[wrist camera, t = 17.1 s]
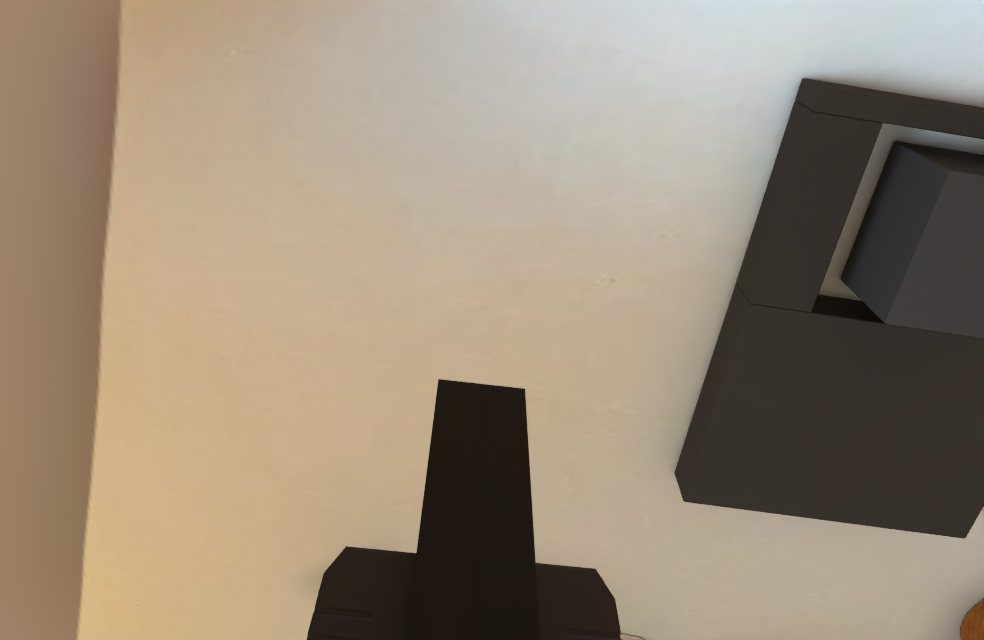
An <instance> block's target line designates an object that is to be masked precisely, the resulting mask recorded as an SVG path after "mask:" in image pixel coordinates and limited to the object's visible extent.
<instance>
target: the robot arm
mask: <svg viewBox="0 0 984 640" xmlns="http://www.w3.org/2000/svg"><path fill="white" fill-rule="evenodd" d="M620 634H621V631H620V625H619V620H618V614H617V608H616V602H615V598H614V597H613V595H612V594H611V592H610V591H609V589H608V588H607V586H606V584H605V583H604V581H603V580H602V578H601V577H600V575H599V574H598V572H597V571H596V569H591V568H581V567H571V566H561V565H550V564H540V563H535V548H534V532H533V515H532V499H531V482H530V466H529V449H528V433H527V416H526V400H525V389H521V388H512V387H503V386H494V385H485V384H476V383H467V382H458V381H449V380H440V379H439V381H438V388H437V396H436V404H435V412H434V420H433V428H432V436H431V444H430V452H429V460H428V468H427V475H426V483H425V491H424V499H423V507H422V515H421V523H420V531H419V539H418V547H417V553H407V552H397V551H387V550H377V549H366V548H356V547H345V549H344V550H343V551H342V552H341V553H340V555H339V556H338V557H337V558H336V559H335V560H334V562H333V563H332V564H331V565H330V566H329V568H328V569H327V570H326V571H325V572H324V575H323V578H322V582H321V586H320V590H319V593H318V597H317V601H316V605H315V611H314V612H313V616H312V620H311V624H310V627H309V631H308V637H307V640H622V639H621V638H620Z"/></svg>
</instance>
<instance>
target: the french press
mask: <svg viewBox="0 0 984 640" xmlns="http://www.w3.org/2000/svg"><path fill="white" fill-rule="evenodd" d="M620 638H621V639H622V640H643V639H641V638H640V637H635V636H630V635H625V634H620Z"/></svg>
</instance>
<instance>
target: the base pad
mask: <svg viewBox="0 0 984 640" xmlns="http://www.w3.org/2000/svg"><path fill="white" fill-rule="evenodd" d="M882 123H887V124H893V125H900V126H906V127H912V128H918V129H924V130H930V131H937V132H943V133H949V134H955V135H961V136H967V137H974V138H980V139H984V108H981V107H975V106H969V105H963V104H957V103H951V102H945V101H939V100H933V99H927V98H921V97H914V96H908V95H902V94H896V93H890V92H884V91H878V90H872V89H866V88H860V87H854V86H848V85H842V84H835V83H829V82H823V81H817V80H811V79H805V78H803V79H802V81H801V84H800V87H799V90H798V93H797V96H796V101H795V103H794V106H793V109H792V112H791V115H790V118H789V121H788V124H787V127H786V130H785V133H784V137H783V140H782V143H781V146H780V149H779V152H778V155H777V158H776V161H775V164H774V167H773V171H772V174H771V177H770V180H769V183H768V186H767V189H766V192H765V195H764V198H763V201H762V205H761V208H760V211H759V214H758V217H757V220H756V223H755V226H754V229H753V232H752V235H751V239H750V242H749V245H748V248H747V251H746V254H745V257H744V260H743V263H742V266H741V269H740V273H739V276H738V279H737V283H736V285H735V288H734V291H733V294H732V297H731V301H730V304H729V307H728V310H727V313H726V316H725V319H724V322H723V325H722V328H721V331H720V335H719V338H718V341H717V344H716V347H715V350H714V353H713V356H712V359H711V362H710V365H709V369H708V372H707V375H706V378H705V381H704V384H703V387H702V390H701V393H700V396H699V399H698V403H697V406H696V409H695V412H694V415H693V418H692V421H691V424H690V427H689V430H688V433H687V437H686V440H685V443H684V446H683V449H682V452H681V455H680V458H679V461H678V464H677V467H676V471H675V476H676V479H677V482H678V485H679V488H680V491H681V495H682V498H683V501H684V502H691V503H698V504H706V505H714V506H721V507H729V508H736V509H744V510H752V511H759V512H767V513H775V514H782V515H790V516H797V517H805V518H813V519H820V520H828V521H836V522H843V523H851V524H858V525H866V526H874V527H881V528H889V529H897V530H904V531H912V532H919V533H927V534H935V535H942V536H950V537H958V538H966V536H967V534H968V533H969V531H970V529H971V527H972V526H973V524H974V522H975V520H976V518H977V517H978V515H979V513H980V511H981V510H982V508H983V506H984V338H978V337H971V336H965V335H958V334H951V333H944V332H937V331H930V330H923V329H916V328H910V327H903V326H896V325H889V324H885V323H884V322H883V321H882V320H881V319H880V318H879V317H878V316H877V315H876V314H875V313H874V312H873V311H872V310H871V309H870V308H869V307H868V306H867V305H866V304H865V303H864V302H860V301H853V300H846V299H840V298H833V297H826V296H819V295H818V293H819V290H820V287H821V285H822V282H823V280H824V277H825V274H826V272H827V269H828V266H829V264H830V261H831V258H832V256H833V253H834V250H835V248H836V245H837V243H838V240H839V237H840V235H841V232H842V229H843V227H844V224H845V221H846V219H847V216H848V213H849V211H850V208H851V206H852V203H853V200H854V198H855V195H856V192H857V190H858V187H859V184H860V182H861V179H862V176H863V174H864V171H865V169H866V166H867V163H868V161H869V158H870V155H871V153H872V150H873V147H874V145H875V142H876V139H877V137H878V134H879V132H880V129H881V126H882Z"/></svg>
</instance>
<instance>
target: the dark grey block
mask: <svg viewBox="0 0 984 640" xmlns="http://www.w3.org/2000/svg"><path fill="white" fill-rule="evenodd" d="M841 280H842V281H843V282H844V283H845V284H846V285H847V286H848V287H849V288H850V289H851V290H852V291H853V292H854V293H855V294H856V295H857V296H858V297H859V298H860V299H861V300H862V301H863V302H864V303H865V304H866V305H867V306H868V307H869V308H870V309H871V310H872V311H873V312H874V313H875V314H876V315H877V316H878V317H879V318H880V319H881V320H882V321H883V322H884V323H885V324H889V325H896V326H903V327H910V328H916V329H923V330H930V331H937V332H944V333H951V334H958V335H965V336H971V337H978V338H984V155H979V154H973V153H966V152H960V151H954V150H947V149H941V148H935V147H929V146H922V145H916V144H910V143H904V142H897V141H896V142H894V144H893V146H892V149H891V151H890V154H889V157H888V159H887V162H886V164H885V167H884V170H883V172H882V175H881V177H880V180H879V182H878V185H877V188H876V190H875V193H874V195H873V198H872V200H871V203H870V206H869V208H868V211H867V213H866V216H865V218H864V221H863V224H862V226H861V229H860V231H859V234H858V237H857V239H856V242H855V244H854V247H853V249H852V252H851V255H850V257H849V260H848V262H847V265H846V267H845V270H844V273H843V275H842V278H841Z"/></svg>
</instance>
